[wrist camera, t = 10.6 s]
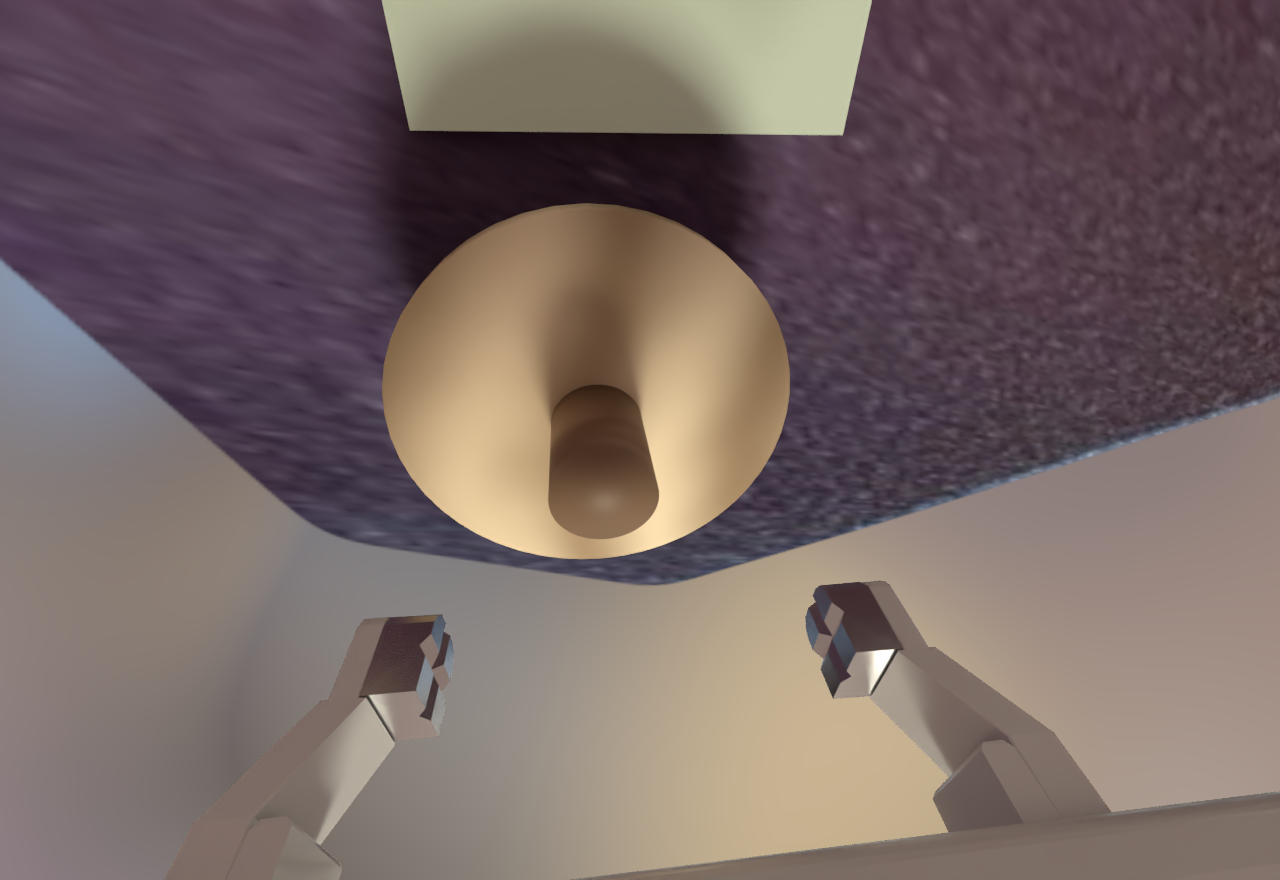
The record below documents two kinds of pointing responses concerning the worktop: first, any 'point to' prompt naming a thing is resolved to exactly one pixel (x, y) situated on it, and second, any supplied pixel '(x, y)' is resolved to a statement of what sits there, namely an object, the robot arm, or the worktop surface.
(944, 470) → the worktop surface
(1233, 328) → the worktop surface
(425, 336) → the lid
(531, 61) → the mat
